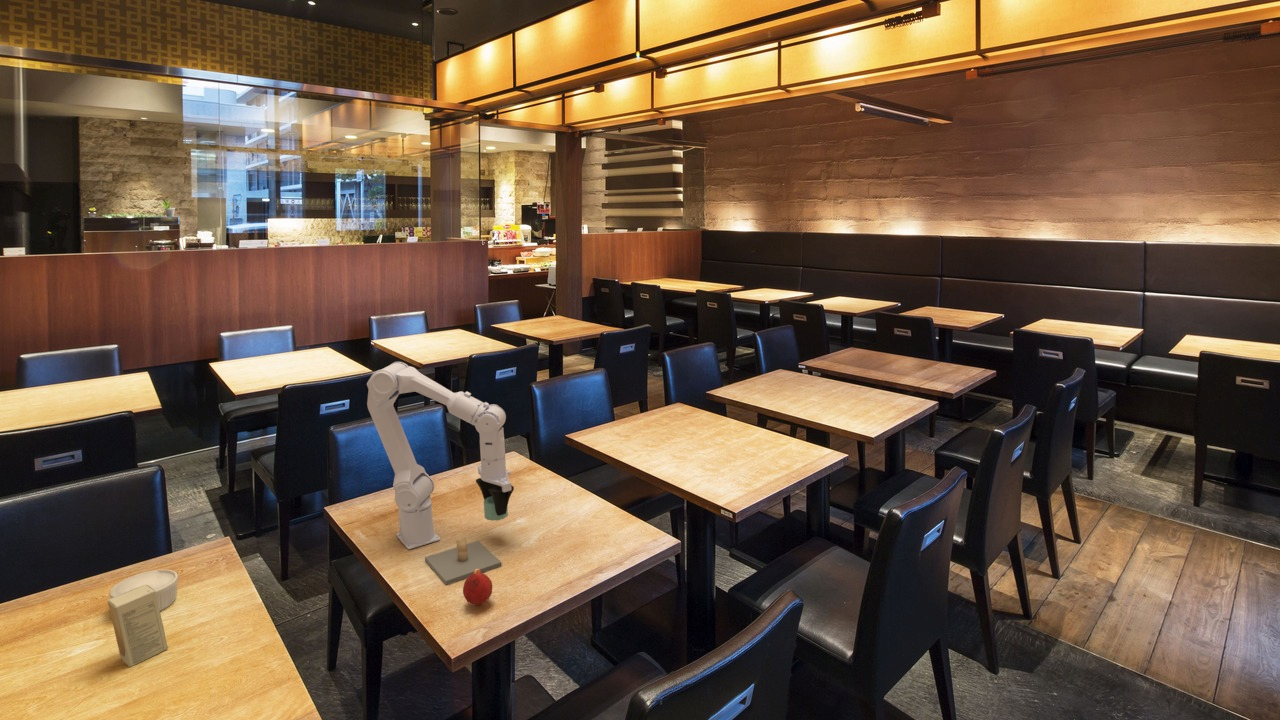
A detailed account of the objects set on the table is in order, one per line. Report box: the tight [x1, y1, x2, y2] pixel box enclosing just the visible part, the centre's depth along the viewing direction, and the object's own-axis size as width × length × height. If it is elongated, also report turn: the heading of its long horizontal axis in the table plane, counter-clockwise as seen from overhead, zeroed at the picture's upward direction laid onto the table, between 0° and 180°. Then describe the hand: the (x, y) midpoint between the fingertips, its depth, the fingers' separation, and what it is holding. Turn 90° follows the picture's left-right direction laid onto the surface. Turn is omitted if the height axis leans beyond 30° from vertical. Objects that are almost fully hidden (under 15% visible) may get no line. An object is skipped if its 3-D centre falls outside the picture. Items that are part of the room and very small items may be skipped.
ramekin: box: [109, 569, 179, 612], centre depth 135 cm, size 11×11×5 cm
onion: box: [462, 569, 493, 607], centre depth 134 cm, size 6×6×8 cm
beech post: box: [455, 536, 468, 562], centre depth 150 cm, size 2×2×5 cm
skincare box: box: [107, 584, 169, 668], centre depth 119 cm, size 6×4×12 cm
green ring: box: [483, 496, 509, 522], centre depth 160 cm, size 5×5×4 cm
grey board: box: [424, 540, 503, 586], centre depth 151 cm, size 13×13×1 cm
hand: (496, 510), depth 160 cm, fingers closed on green ring, 5 cm apart
